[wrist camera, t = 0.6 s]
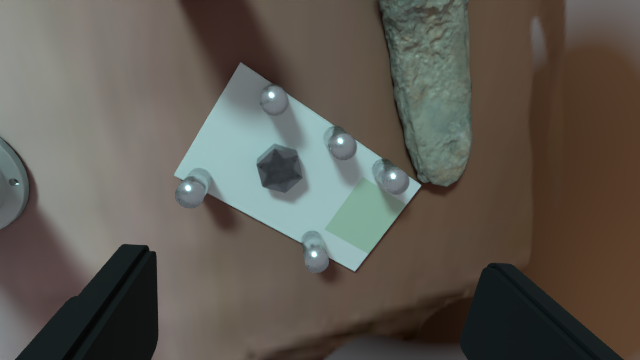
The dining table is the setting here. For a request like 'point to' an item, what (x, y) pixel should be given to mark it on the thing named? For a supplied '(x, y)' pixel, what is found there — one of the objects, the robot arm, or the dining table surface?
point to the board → (316, 166)
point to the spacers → (340, 147)
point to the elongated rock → (431, 83)
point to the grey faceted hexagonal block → (279, 168)
